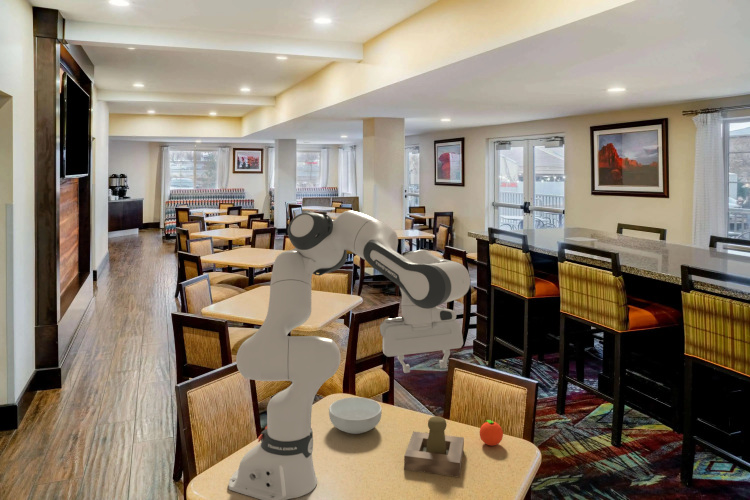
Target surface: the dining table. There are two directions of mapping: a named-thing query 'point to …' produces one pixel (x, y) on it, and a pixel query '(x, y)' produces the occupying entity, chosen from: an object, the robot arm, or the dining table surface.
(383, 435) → the dining table surface
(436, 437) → the olive pepper mill
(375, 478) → the dining table surface
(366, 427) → the cereal bowl
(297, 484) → the robot arm
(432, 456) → the socket block
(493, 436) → the clementine
